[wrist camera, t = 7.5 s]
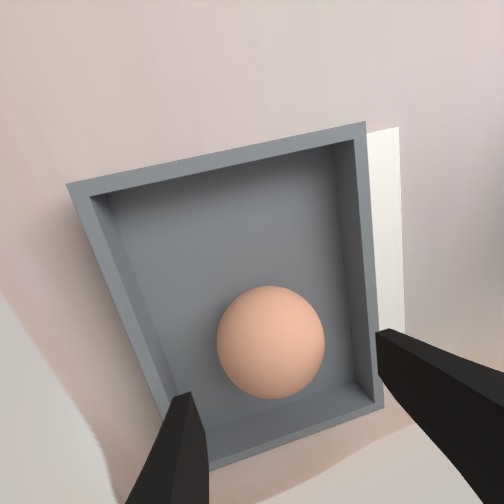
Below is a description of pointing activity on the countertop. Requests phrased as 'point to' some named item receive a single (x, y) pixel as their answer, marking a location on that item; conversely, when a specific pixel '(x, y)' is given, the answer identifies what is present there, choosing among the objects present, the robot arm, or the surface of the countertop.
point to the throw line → (387, 226)
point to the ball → (270, 342)
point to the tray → (244, 275)
